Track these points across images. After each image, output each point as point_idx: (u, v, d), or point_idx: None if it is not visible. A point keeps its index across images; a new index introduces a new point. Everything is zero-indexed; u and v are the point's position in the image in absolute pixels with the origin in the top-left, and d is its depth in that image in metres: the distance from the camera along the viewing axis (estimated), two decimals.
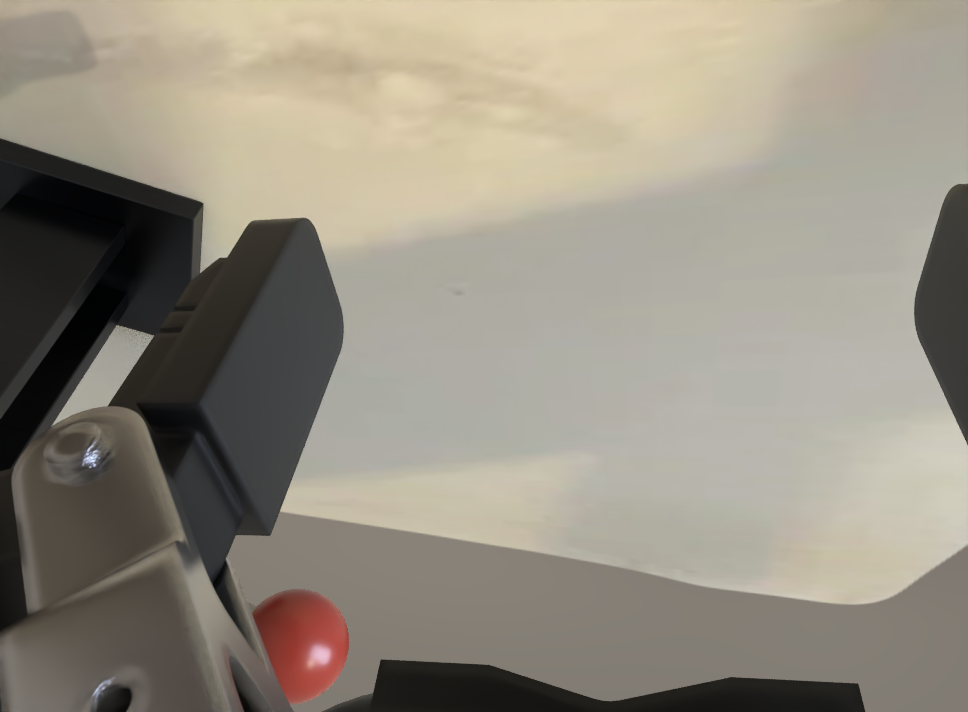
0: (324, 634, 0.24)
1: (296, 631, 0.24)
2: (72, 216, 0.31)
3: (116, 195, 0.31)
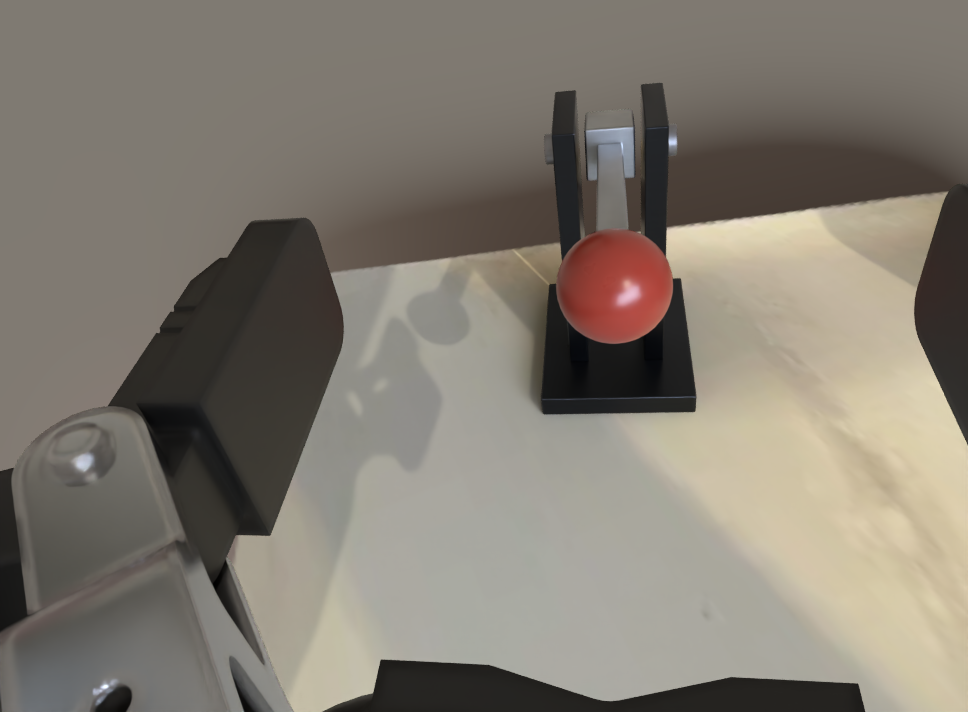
0: (668, 298, 0.23)
1: None
2: None
3: (690, 355, 0.41)
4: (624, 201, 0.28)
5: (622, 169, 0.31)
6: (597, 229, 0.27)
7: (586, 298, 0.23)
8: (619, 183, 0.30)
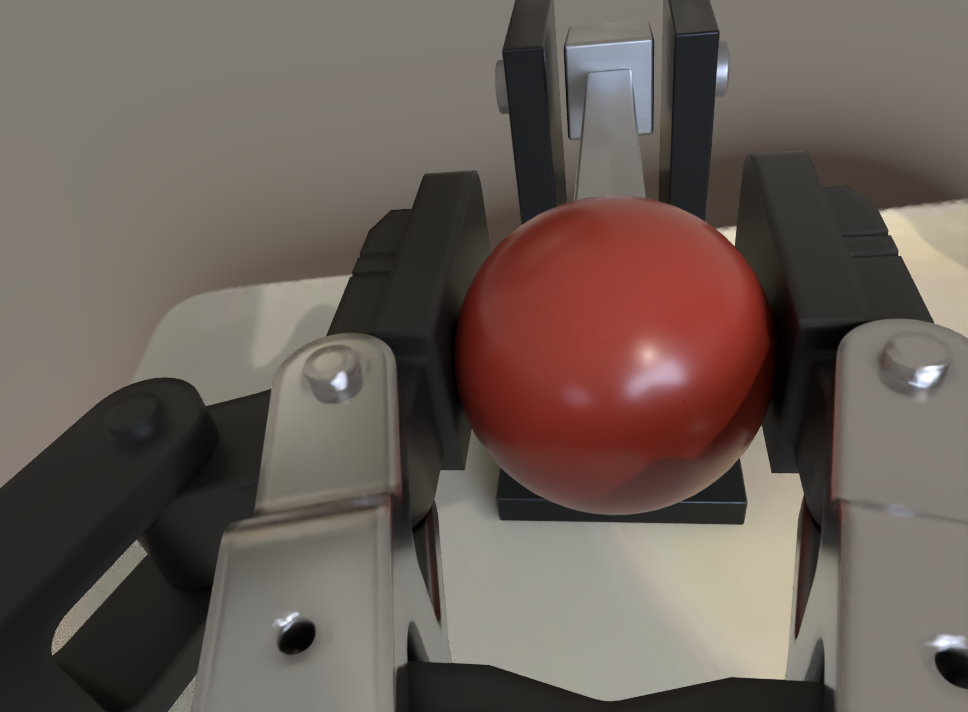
0: (767, 399, 0.08)
1: (774, 329, 0.08)
2: None
3: None
4: (636, 155, 0.13)
5: (631, 104, 0.16)
6: None
7: (525, 400, 0.07)
8: (625, 125, 0.15)
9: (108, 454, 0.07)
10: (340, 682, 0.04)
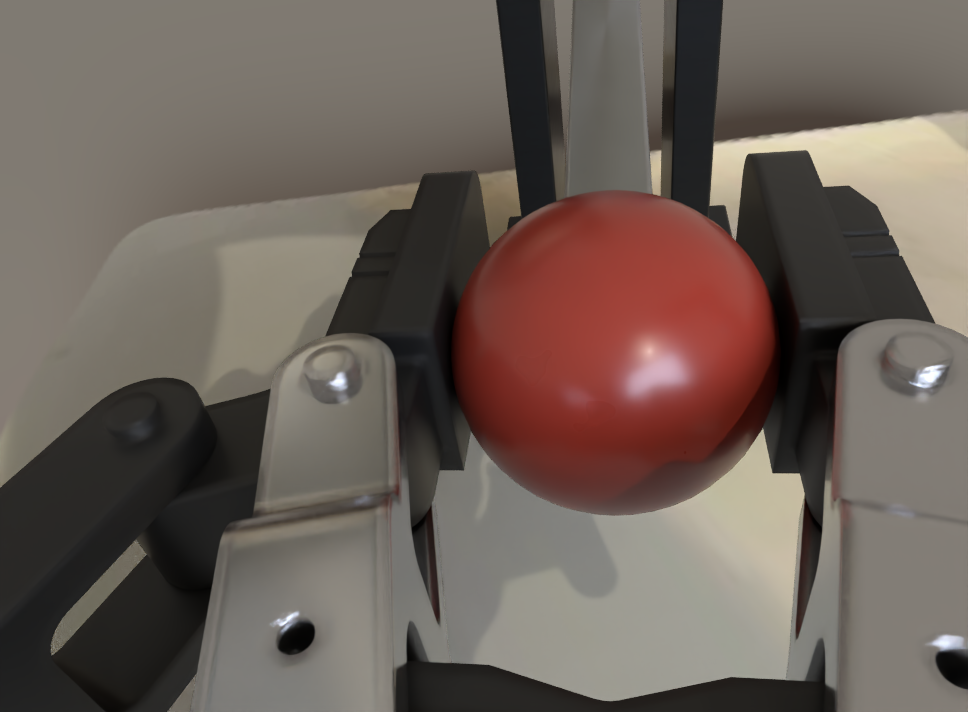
0: (767, 414, 0.08)
1: None
2: None
3: None
4: (637, 41, 0.12)
5: None
6: (569, 141, 0.10)
7: (527, 447, 0.07)
8: None
9: (107, 454, 0.07)
10: (340, 682, 0.04)
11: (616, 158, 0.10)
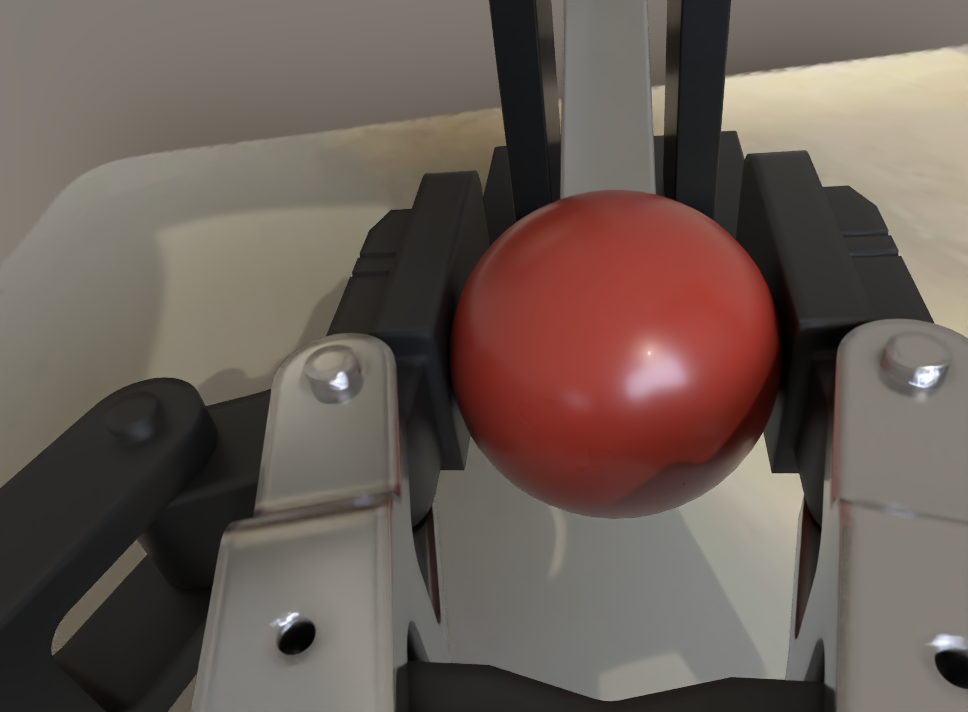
0: (765, 423, 0.08)
1: (780, 338, 0.08)
2: None
3: None
4: None
5: None
6: (565, 96, 0.10)
7: (529, 477, 0.08)
8: None
9: (108, 454, 0.07)
10: (340, 682, 0.04)
11: (616, 121, 0.09)
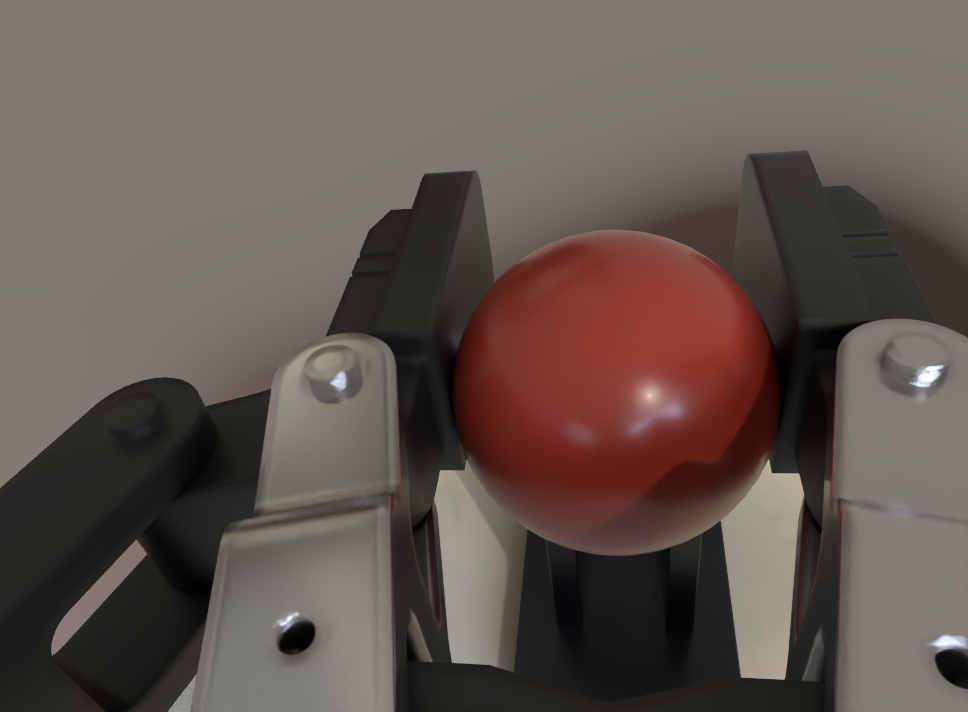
0: (773, 403, 0.08)
1: None
2: None
3: None
4: None
5: None
6: None
7: (522, 356, 0.07)
8: None
9: (107, 455, 0.07)
10: (340, 682, 0.04)
11: None
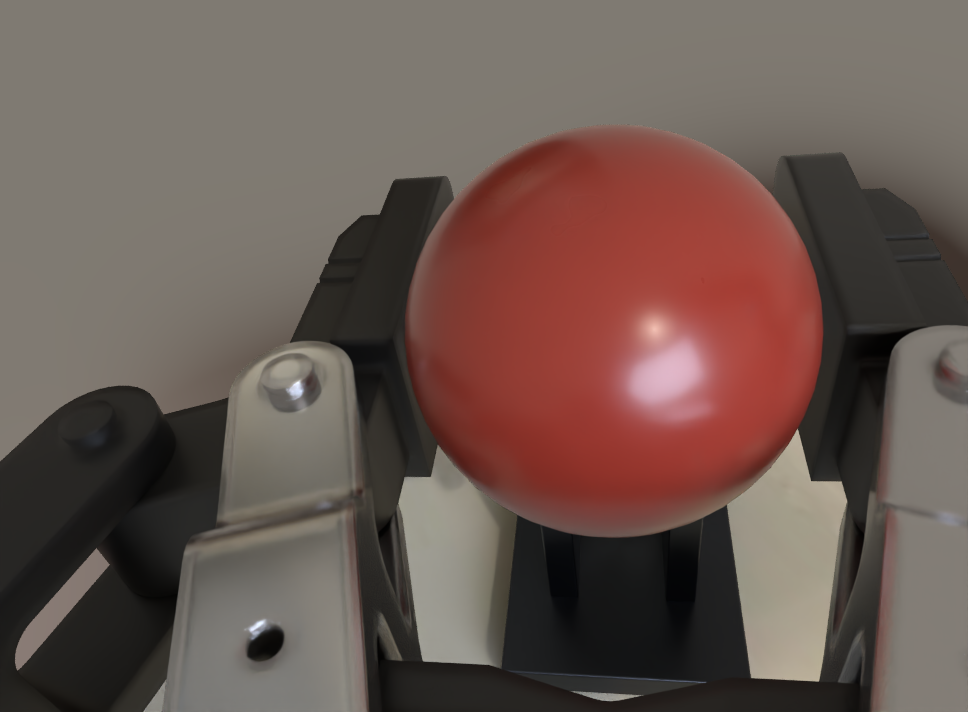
0: (815, 345, 0.06)
1: None
2: None
3: (739, 596, 0.26)
4: None
5: None
6: None
7: (486, 289, 0.05)
8: None
9: (65, 463, 0.07)
10: (311, 685, 0.04)
11: None
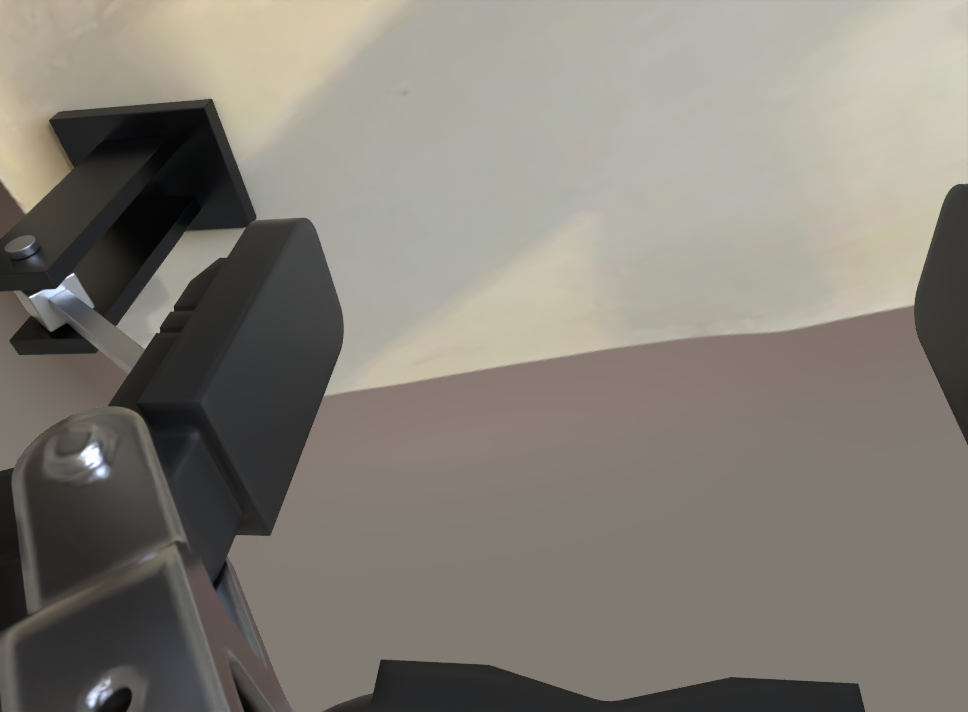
0: None
1: None
2: (136, 140, 0.45)
3: (154, 111, 0.44)
4: (113, 354, 0.33)
5: (79, 325, 0.35)
6: None
7: None
8: (95, 340, 0.34)
9: None
10: None
11: None
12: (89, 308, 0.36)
